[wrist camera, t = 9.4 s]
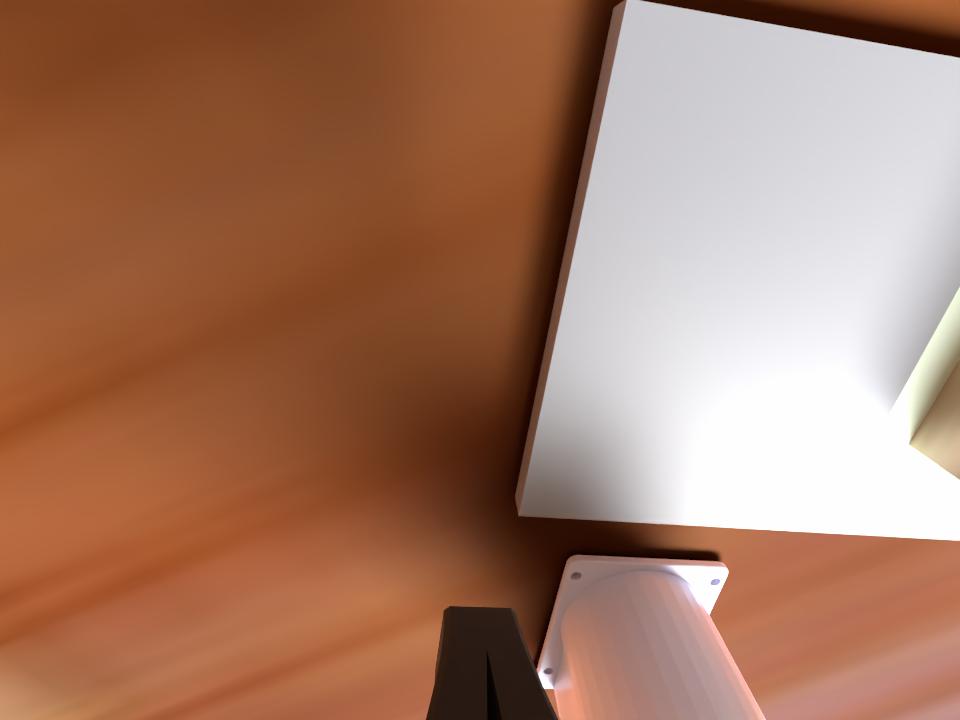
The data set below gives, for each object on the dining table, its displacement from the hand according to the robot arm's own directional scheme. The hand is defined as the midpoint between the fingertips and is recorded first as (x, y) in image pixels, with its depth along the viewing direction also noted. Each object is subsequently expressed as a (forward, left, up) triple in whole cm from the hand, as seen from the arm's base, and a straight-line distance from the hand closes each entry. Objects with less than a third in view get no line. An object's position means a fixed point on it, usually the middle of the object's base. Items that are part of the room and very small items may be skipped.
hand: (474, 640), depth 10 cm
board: (+4, -17, -10) cm, 20 cm away
